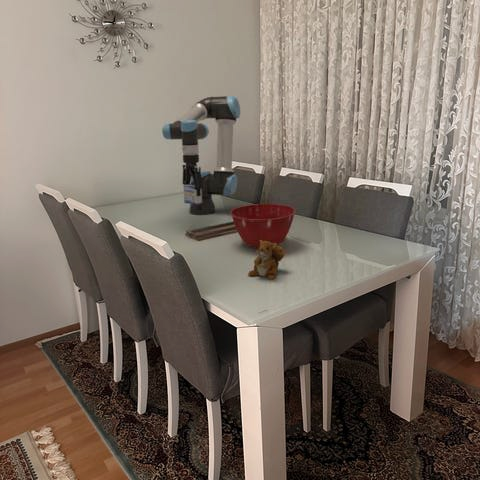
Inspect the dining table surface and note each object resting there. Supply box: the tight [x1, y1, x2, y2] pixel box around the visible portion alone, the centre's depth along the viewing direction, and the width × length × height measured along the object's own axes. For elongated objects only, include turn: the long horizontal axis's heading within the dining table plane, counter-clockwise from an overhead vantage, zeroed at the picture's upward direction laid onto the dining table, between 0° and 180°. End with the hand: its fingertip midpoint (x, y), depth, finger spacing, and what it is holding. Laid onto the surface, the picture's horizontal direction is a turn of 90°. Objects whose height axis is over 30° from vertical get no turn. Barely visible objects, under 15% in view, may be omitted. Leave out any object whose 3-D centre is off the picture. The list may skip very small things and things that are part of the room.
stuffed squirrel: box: [247, 240, 286, 281], centre depth 167 cm, size 10×14×13 cm
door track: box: [184, 220, 238, 242], centre depth 223 cm, size 12×30×2 cm, turn 126°
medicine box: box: [183, 185, 202, 205], centre depth 220 cm, size 8×4×9 cm, turn 60°
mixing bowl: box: [230, 203, 296, 249], centre depth 201 cm, size 28×28×15 cm
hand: (193, 200), depth 221 cm, fingers closed on medicine box, 9 cm apart
